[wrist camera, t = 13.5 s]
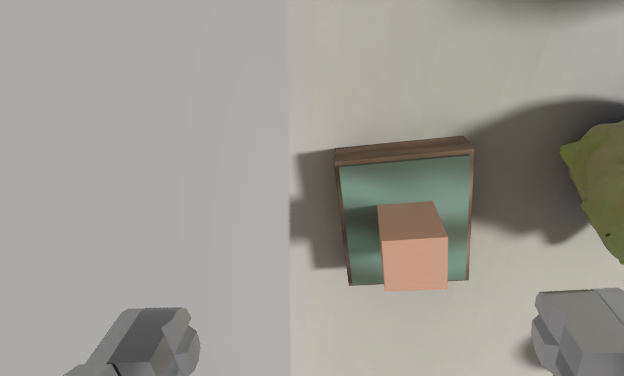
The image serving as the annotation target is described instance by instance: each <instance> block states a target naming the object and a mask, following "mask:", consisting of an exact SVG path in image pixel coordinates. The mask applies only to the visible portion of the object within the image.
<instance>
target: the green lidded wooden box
mask: <svg viewBox="0 0 624 376" xmlns="http://www.w3.org/2000/svg"><path fill="white" fill-rule="evenodd" d="M334 165H335V174H336V182H337V190H338V199H339V207H340V216H341V224H342V232H343V241H344V249H345V257H346V266H347V274H348V282H349V286H354V285H376V284H384V277H383V269H382V260H381V252H380V239H379V225H378V211H377V205H384V204H398V203H411V202H424V201H433V202H434V204H435V207H436V209H437V212H438V214H439V216H440V219H441V221H442V224H443V226H444V228H445V231H446V233H447V236H448V275H447V281H462V280H469V257H470V235H471V213H472V191H473V169H474V148H473V147H472V146H471V144H470V143H469V142H468V141H467V140H466V138H465V137H464V136H457V137H447V138H437V139H426V140H416V141H406V142H396V143H385V144H375V145H365V146H355V147H345V148H336V149H335V158H334Z"/></svg>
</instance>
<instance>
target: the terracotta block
mask: <svg viewBox="0 0 624 376" xmlns="http://www.w3.org/2000/svg"><path fill="white" fill-rule="evenodd" d="M377 211H378V225H379V239H380V252H381V260H382V269H383V277H384V286H385V292H387V291H410V290H433V289H447V275H448V236H447V233H446V231H445V228H444V226H443V224H442V221H441V219H440V216H439V214H438V212H437V209H436V207H435V204H434V202H433V201H424V202H411V203H398V204H384V205H377Z"/></svg>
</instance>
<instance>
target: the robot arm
mask: <svg viewBox="0 0 624 376" xmlns="http://www.w3.org/2000/svg"><path fill="white" fill-rule="evenodd" d="M535 307H536V308H537V310H538V312H539V315H538V316H537V317H536V318H534V319H533V320H532V329H531V334H532V341H533V346H534V349H535V352H536V355H537V357H538V359H539V361H540V363H541V365H542V366H543V367H545V368H546V369H547V370H549V371H550V372H551V373H553V376H624V291H623V290H621V289H619V288H603V289H591V290H588V289H586V290H567V291H547V292H539V294H538V295H537V296H536V302H535ZM190 320H191V317H190V315H189V313H188V310H187V309H186V308H145V309H127V310H125V311H124V312H122V313H121V314H120V315H119V317H118V318H117V320H116V321H115V322H114V324H113V325H112V327H111V328H110V329H109V331H108V332H107V334H106V335H105V337H104V338H103V339H102V341H101V342H100V344H99V345H98V346H97V348H96V349H95V351H94V352H93V353H92V355H91V356H90V358H89V359H88V360H87V362H86V363H85V364H84V365H78V366H76V367H75V368H73V369H72V370H70V371H69V372H68V373H66V374H65V375H63V376H189V375H190V374H191V373H192V372H194V371H195V368H196V365H197V363H198V360H199V353H200V341H199V337H198V334H197V332H196V331H195V330H194V329H193V328H191V327H190V326H189V325H188V324H189V322H190Z"/></svg>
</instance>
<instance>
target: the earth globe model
mask: <svg viewBox="0 0 624 376" xmlns="http://www.w3.org/2000/svg"><path fill="white" fill-rule="evenodd" d="M559 155H560V156H561V158H562V159H563V160H564V161H565V163H566V164H567V166H568V167H569V168H570V178H571V179H572V180H573V181H574V183H575V186H576V188H577V190H578V192H579V194H580V197H581V199H582V201H583V202H582V203H581V208H582V209H583V210H584V211H585V213H586V214H587V215H588V218H589V220H590V223H591V225H592V226H593V227H594V229H595V230H596V232H597V233H598V235H599V237H600V238H601V240H602V242H603V244H604V245H605V247H606V248H607V249H608V250H609V251H610V253H611V254H612V255H613V256H615V257H616V258H617V259H619V261H620V263H621V264H624V120H622V121H620V122H618V123H609V124H599V125H596V126H594V127H592V128H591V129H589V131H588V132H587V133H586V134H585V135H584V136H583V137H582V138H581V140H579V141H577V142H573V143H568V144H565V145H562V146H561V147H560V151H559Z"/></svg>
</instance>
